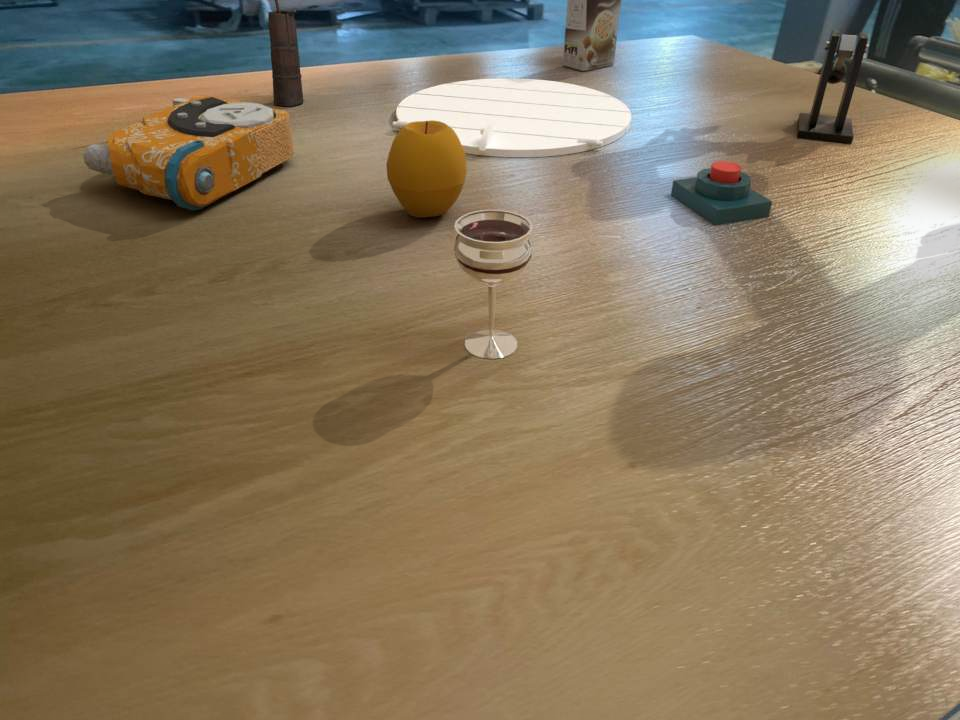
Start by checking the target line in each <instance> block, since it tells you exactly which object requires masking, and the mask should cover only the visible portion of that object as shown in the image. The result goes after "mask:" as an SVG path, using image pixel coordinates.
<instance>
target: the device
mask: <svg viewBox="0 0 960 720" xmlns="http://www.w3.org/2000/svg"><path fill="white" fill-rule="evenodd" d="M107 143H108V144H107V145H103V144H97V143H96V144H95V143H93V144H90V145H88V146H87V147H86V149H85V150H84V153H83V162H84V164H85V165H86V166H87V168H88V169H89V170H92V171H95V172H97V173H102V174H109V175H112V176H114V178H115V180H116V184H117V185H119V186H121V187H125V188H129V189H133V190H138V191H139V192H140V193H142V194H143V195H147V196H151V197H155V198H160V199H164V200H168V201H169V200H170V201H173V202H174V204H175V205H176V206H177V207H179V208H182V209H184V210H185V209H186V210H189V211H199V210H202V209H205V208H206V207H208V206H209V205H211V204H213V203H215V202H216V201H217V200H220V199H221V198H223V197H225V196H227V195H228V194H231V193H232V192H235V191H237V190H238V189H240V188H242V187H244V186H246V185H248V184H250V183H251V182H253V181H255V180H257V179H259V178H261V177H262V175H263V174H265V173H267V172H269V171H271V170H273V169H274V168H276V167H278V166H279V165H281V164H283V163H285V162H286V161H288V160H291V159H292V158H293V157H294V154H295V152H294V151H295V150H294V144H293V137H292V130H291V122H290V115H289V113H288V112H287V111H286V110H284V109H278V108H272V107H270V106H267V105H265V104H261V103H256V102H247V101H241V100H234V99H227V98H223V97H217V96H211V95H203V94H202V95H197V96H193V97H191V98H190V99H187V98H180V97H177V98H174V99H172V106H169V107H167V108H165V109H162V110H159V111H156V112H153V113H151V114H148V115H145V116H143V117H142V120H141V121H139V122H136V123H133V124H130V125H128V126H125V127H123V128H119V129H117V130H115V131H114V132H110V133H109V132H108V139H107Z"/></svg>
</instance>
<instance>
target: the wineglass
mask: <svg viewBox="0 0 960 720" xmlns="http://www.w3.org/2000/svg"><path fill="white" fill-rule="evenodd" d="M453 228H454V229H455V231H456V233H457V235H456V237H455V241H454V246H453V251H454V255H455V256H454V257H455V259H456V261H457V264H458V266H459V268H460V269H461V270H462V271H463V272H464V273H466V274H467V275H468V276H469V277H470V278H472V279H473V280H474V281H476V282H479V283H482V284H484V285H485V286H486V287H487V300H488V301H487V302H488V303H487V304H488V329H481V330H477V331H475V332H472V333H470V334H469V335H468V336H467V337H466V339H465V340H464V348H465V349H466V351H467V352H469V353H470V354H471V355H474V356H475V357H478V358H482V359H489V360H490V359H491V360H494V359H496V360H497V359H502V358H503V359H504V358H505V357H507V356H508V357H509V356H510V355H512V354H513V353H514V352H515V351H516V350H517V348H518V341H517V339H516V337H515V336H513V335H512V334H511V333H509V332H506V331H504V330H500V329H495V318H496V317H495V316H496V301H497V287H498V286H500V285H501V284H504V283H508V282H510V281H512V280H513V279H515V278H516V277H518V276H519V275H520V274H522V273H523V272H524V270H526V268H527V266H528V264H529V263H530V261H531V259H532V254H533V243H532V239H531V237H530V236H529V235H530V234H531V233H532V231H533V223H532V221H531V220H530V219H529V218H527V217H526V216H524V215H523V214H520V213H517V212H514V211H509V210H504V209H481V210H475V211H471V212H467V213H466V214H463V215H462V216H460V217H458V218H457V219H456V220H455V222H454V227H453Z"/></svg>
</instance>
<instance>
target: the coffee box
mask: <svg viewBox="0 0 960 720" xmlns="http://www.w3.org/2000/svg"><path fill="white" fill-rule="evenodd" d="M566 3H567V5H566V17H565V29H564V43H563V53H562V55H563V56H562V66H563V67H567V68H569V69H570V68H571V69H574V70H577V71H581V72H587V71H591V70H597V69H601V68H607V67H611V66H614V65H615V59H616V50H617V42H618V41H617V40H618V32H619V23H620V14H621V6H622V0H567V2H566Z"/></svg>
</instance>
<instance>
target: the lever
mask: <svg viewBox="0 0 960 720" xmlns="http://www.w3.org/2000/svg"><path fill="white" fill-rule="evenodd" d="M857 40H858V35H854V34H853V35H852V34H841V36H840V37H839V40H838V44H837V48H836V51H835V58H836V59H835V60H833V63H832V67H831V70H830V74H829V78H828V82H827V84H830V85H836V84H839V83H840V82H842V81H843V80H844V79H845V78H846V76H847V74H848V69H847V68H848V67H847V65H846V63H845V61H846V59H848V60H849V59H850V60H851V59H852V58H853V55H854V51H855V48H856V44H857Z"/></svg>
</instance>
